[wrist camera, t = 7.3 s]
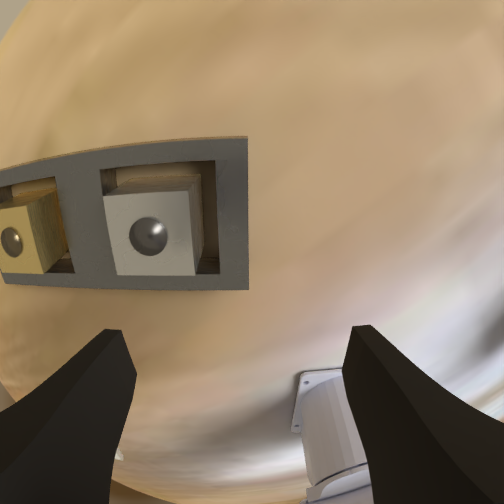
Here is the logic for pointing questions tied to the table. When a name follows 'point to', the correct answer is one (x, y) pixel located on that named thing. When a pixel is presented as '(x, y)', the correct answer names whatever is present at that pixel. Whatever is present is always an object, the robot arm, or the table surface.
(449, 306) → the table surface
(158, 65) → the table surface
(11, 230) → the tan wooden cube
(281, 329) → the table surface
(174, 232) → the cube with domed knob
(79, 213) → the grey rectangular slotted frame
